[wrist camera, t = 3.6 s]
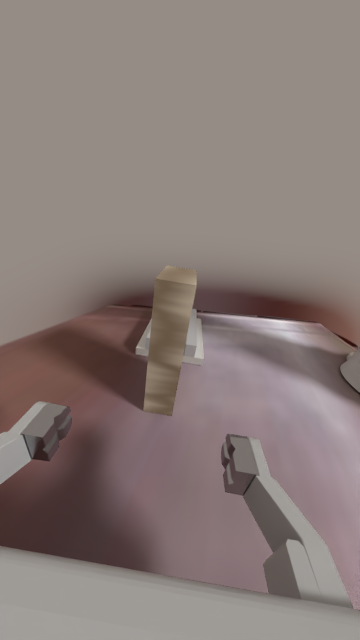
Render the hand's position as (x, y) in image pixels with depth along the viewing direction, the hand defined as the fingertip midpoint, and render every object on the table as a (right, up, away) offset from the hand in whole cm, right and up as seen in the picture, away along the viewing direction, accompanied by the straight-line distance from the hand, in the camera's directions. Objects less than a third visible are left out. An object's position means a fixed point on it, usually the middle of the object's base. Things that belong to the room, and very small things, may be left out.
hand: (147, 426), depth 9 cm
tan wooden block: (0, -3, +12) cm, 13 cm away
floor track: (+1, +3, +24) cm, 24 cm away
